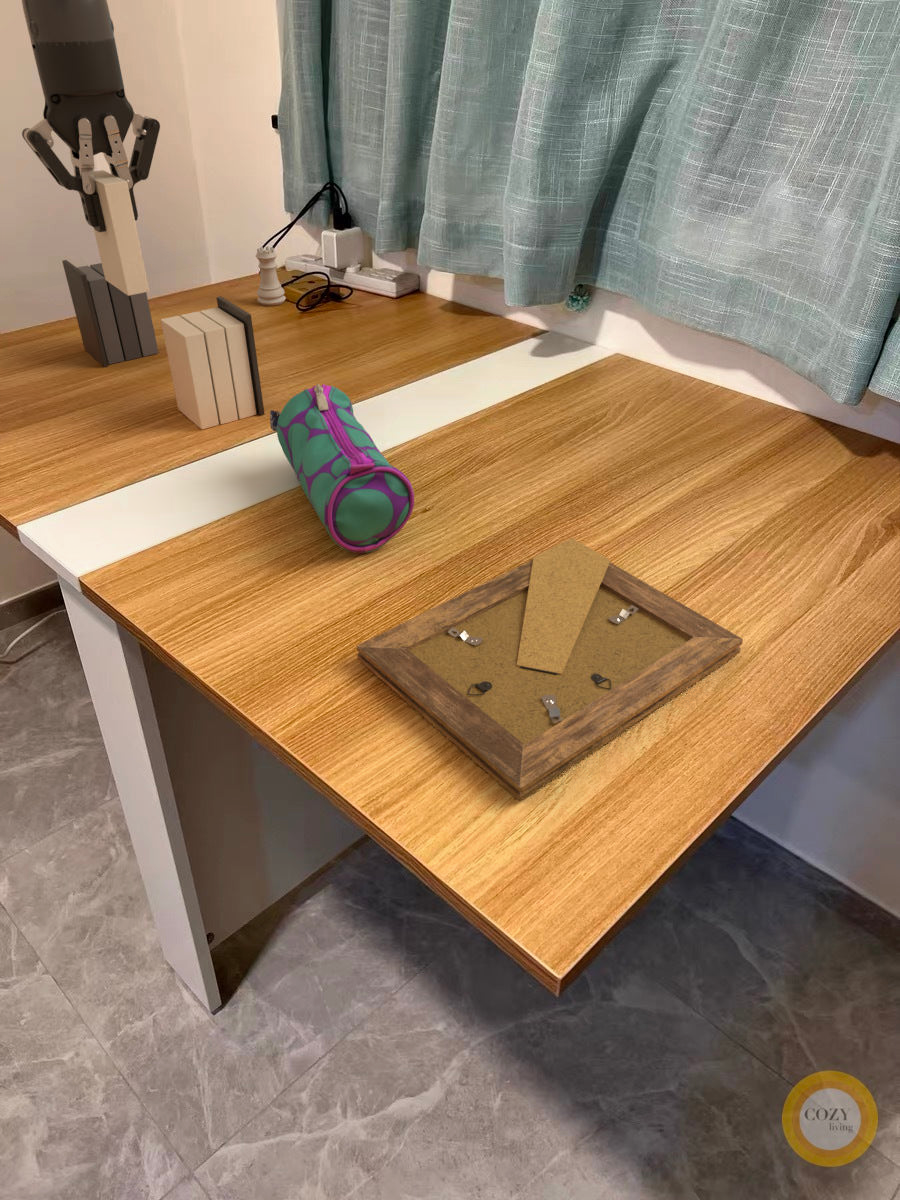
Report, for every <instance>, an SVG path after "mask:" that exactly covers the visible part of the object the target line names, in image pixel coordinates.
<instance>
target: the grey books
mask: <svg viewBox="0 0 900 1200" xmlns="http://www.w3.org/2000/svg"><path fill="white" fill-rule="evenodd" d="M61 261H62V265H63V266H62V267H63V269H64V273H65V278H66V282H67V286H68V289H69V290H68V291H69V293H70V298H71V301H72V305H73V309H74V313H75V317H76V321H77V324H78V325H77V326H78V329H79V332H80V336H81V340H82V344H83V348H84V350H85V351H86V352H87V354H89V355H90V356H91V357H92V358H93V359H95V361H96V362H98V363H99V364H100V365H101V366H102V368H107V367H109V366H110V365H114V364H117V363H118V364H119V363H123V362H125V361H126V362H127V361H131V360H137V359H140V358H142V357H144V358H145V357H148V356H153V355H157V354H160V352H159V347H158V342H157V337H156V333H155V327H154V322H153V318H152V313H151V308H150V303H149V298H148V292H145V293H140V294H135V295H130V296H128V295H126V294H125V293H123V292H122V291H121V290H119V289H118V288H116V287H115V286H113V285H112V284H111V283H109V282H108V281H106V280H105V276H104V271H103V267H102V263H101V262H100V263H94V264H90V265H83V266H82V265H81V266H75V265H74V264H72V263H71V262H70V261H68V260H67V259H63V260H61Z"/></svg>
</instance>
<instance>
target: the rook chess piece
mask: <svg viewBox="0 0 900 1200" xmlns="http://www.w3.org/2000/svg"><path fill="white" fill-rule="evenodd" d="M277 256H278V254H277V253H276V252H275V248H274V247H272V246H265V249H264V246H259V248H257V249H256V254H255V258H256V259H257V260H258V265H257V267H258V268H259V272H260V273H259V275H260V276H259V277H260V280H259V285H258V289H257V291H256V295H257V296H258V297H257V298H256V300H257V302H258V303H259V304H260V305H262V306H266V307H267V306H268V307H272V306H274V307H275V306H278V305H282V304H284V302H285V300H286V299H287V297H286V296H285V295H284V294H285V293H286V292H285V289H284V288H283V287H282V284H281V283H280V281H279V278H278V272H277V266H278V265H277V263H276V258H277Z"/></svg>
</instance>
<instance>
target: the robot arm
mask: <svg viewBox="0 0 900 1200" xmlns="http://www.w3.org/2000/svg"><path fill="white" fill-rule="evenodd" d="M21 5H22V10H23V11H22V12H23V15H24V18H25V23H26V28H27V32H28V36H29V41H30V43H31V48H32V51H33V56H34V61H35V64H36V68H37V73H38V76H39V81H40V85H41V89H42V94H43V97H44V107H43V111H42V112H43V113H42V115H43V119H42V120H40V121H39V122H38V123H36V124H35V125H34V126H32V127H31V128H29V127H25V128H24V129H23V130H22V131H21V136H22V138H23V140H24V141H25V143H26V144H27V145H28V147H29V148H30V149H31V150H32V152H33V154H35V156H36V157H37V158H38V160H39V161H40V162H41V164H42V165H43V166H44V168H46V170H47V171H48V173H49V174H50V176H52V178H53V179H54V180H55V182H56V183H57V184H58V186H60V187H63V188H64V189H66V190H68V191H76V192H77V193H78V194H79V197H80V201H81V206H82V209H83V213H84V217H85V221H86V223H87V224H88V225H89V226H91V227H92V228H93V227H94V228H93V230H94V229H95V230H96V231H98V232H105V231H106V226H105V221H104V217H103V212H102V208H101V203H100V199H99V194H97V193H95V181H94V172H93V171H95V170H94V169H95V158H94V156H96V155H98V154H101V153H103V157H104V159H105V161H106V163H107V165H108V168H109V171H110V174H112V175H114V176H116V177H119V178H121V179H123V180H125V181H127V184H128V189H129V194H130V198H131V203H132V208H133V213H134V218H135V222H136V221H138V219H139V218H138V217H139V213H138V208H137V202H136V198H135V193H134V187H135V185H136V184H138V183H139V182H141V181H146V180H147V179H148V178H149V175H150V171H151V167H152V162H153V158H154V154H155V150H156V146H157V143H158V138H159V134H160V130H161V124H160V122H159V121H158V119H155V118H152V117H149V116H146V115H143V114H140V113H137V112H135V111H134V108H133V106H132V104H131V103H130V101H129V100H128V98H127V95H126V92H125V84H124V80H123V79H124V78H123V75H122V68H121V65H120V60H119V54H118V47H117V43H116V37H115V28H114V27H115V26H114V22H113V20H112V18H111V12H110V8H109V3H108V1H107V0H21ZM131 125H132V133H133V135H134V136H135V140H134V144H133V148H132V152H131V157H130V161H128V156H127V153H126V151H125V147H124V141H125V139H126V136H127V134H128V132H129V129H130V126H131ZM52 132H54V133H55V134H56V136H58V137H59V139H60V140H62V142H63V143H64V144H65V145H66V146H67V147H68V148H69V155H70V162H71V165H72V167H73V174H71V173H70V172H69V170H68V169H67V167H66V166H65V165H64V163H63V162H62V161H61V160H60V158H59V157H58V155H57V154H56V153H55V151H54V150H53V149H52V148H53V147H54V144H55V143H54V142H55V141H54V139H53V137H52ZM128 163H129V164H128Z"/></svg>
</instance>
